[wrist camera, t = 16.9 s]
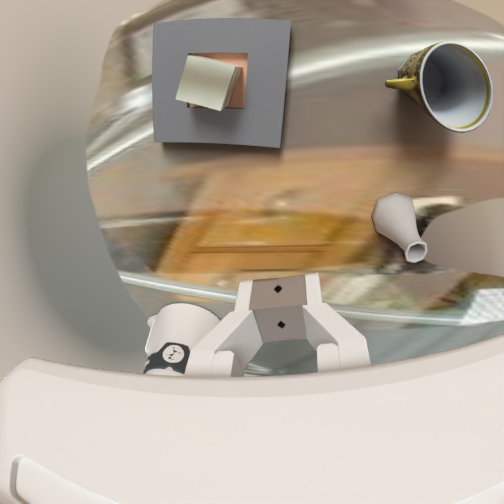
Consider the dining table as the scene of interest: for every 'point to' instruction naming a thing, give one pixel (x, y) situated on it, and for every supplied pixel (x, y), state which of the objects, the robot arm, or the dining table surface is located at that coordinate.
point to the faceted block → (208, 82)
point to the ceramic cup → (448, 85)
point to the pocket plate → (247, 88)
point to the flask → (399, 224)
